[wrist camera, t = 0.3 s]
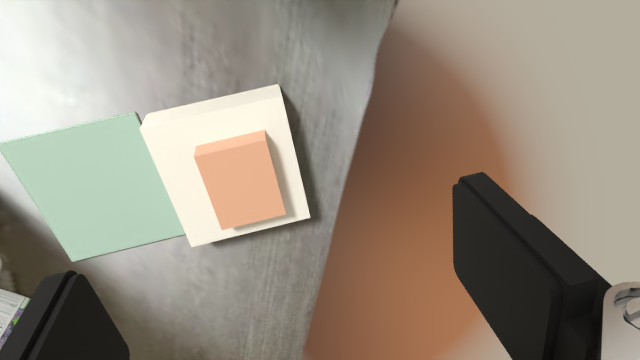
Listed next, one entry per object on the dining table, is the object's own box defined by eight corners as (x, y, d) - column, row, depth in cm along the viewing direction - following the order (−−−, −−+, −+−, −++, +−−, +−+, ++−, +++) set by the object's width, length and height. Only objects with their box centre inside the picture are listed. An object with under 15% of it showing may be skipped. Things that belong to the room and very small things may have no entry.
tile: (196, 145, 42) (193, 156, 40) (264, 129, 42) (265, 139, 40) (222, 216, 47) (221, 230, 44) (283, 201, 47) (286, 214, 45)
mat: (-3, 142, 42) (-4, 144, 42) (135, 111, 43) (134, 113, 43) (73, 259, 51) (72, 261, 50) (187, 231, 52) (187, 233, 51)
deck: (147, 113, 44) (139, 128, 40) (278, 83, 44) (282, 96, 41) (194, 226, 51) (191, 247, 48) (305, 199, 52) (310, 217, 49)
